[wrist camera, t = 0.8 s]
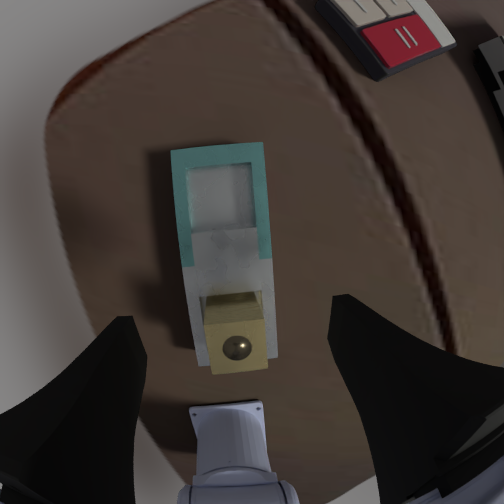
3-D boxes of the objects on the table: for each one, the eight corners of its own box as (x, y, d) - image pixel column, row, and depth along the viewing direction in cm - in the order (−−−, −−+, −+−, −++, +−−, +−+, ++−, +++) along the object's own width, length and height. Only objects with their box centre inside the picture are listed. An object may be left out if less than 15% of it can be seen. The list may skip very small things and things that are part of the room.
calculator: (321, -10, 18) (407, -25, 17) (310, 10, 22) (393, -10, 21) (391, 72, 20) (462, 43, 19) (371, 85, 24) (442, 53, 23)
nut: (257, 332, 25) (268, 368, 19) (212, 337, 25) (212, 374, 19) (253, 290, 24) (264, 318, 19) (206, 295, 24) (203, 325, 18)
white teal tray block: (272, 342, 27) (277, 357, 24) (200, 350, 26) (198, 366, 23) (257, 148, 23) (262, 142, 21) (175, 155, 23) (170, 150, 20)
